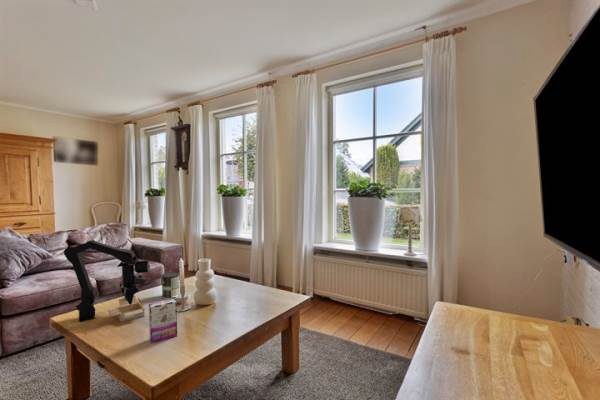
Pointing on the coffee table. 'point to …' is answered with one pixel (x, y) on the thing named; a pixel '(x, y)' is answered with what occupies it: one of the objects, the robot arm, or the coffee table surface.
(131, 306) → the carton
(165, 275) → the coffee can
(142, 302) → the flap far
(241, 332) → the coffee table surface
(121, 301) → the flap left
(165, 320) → the candy bar box
